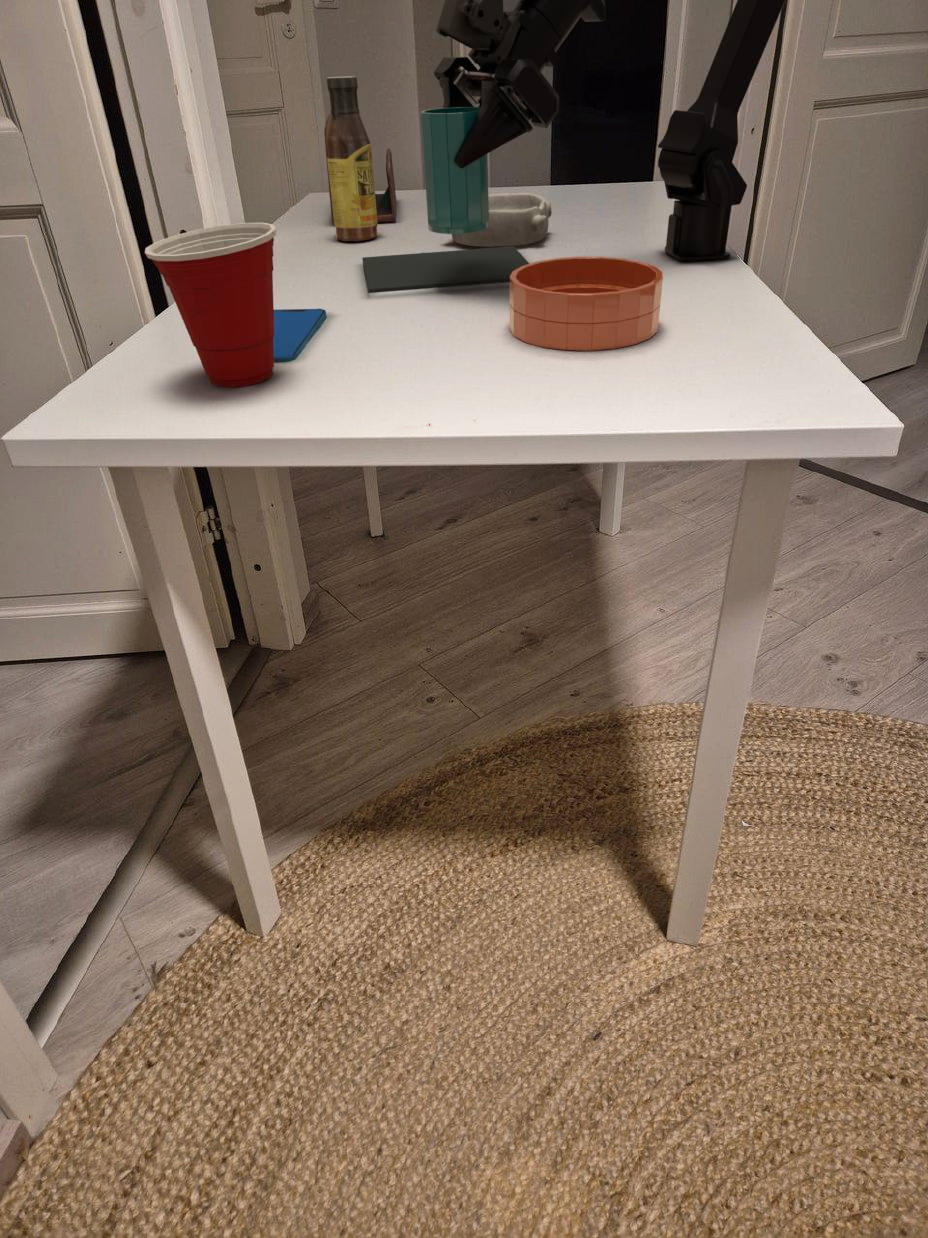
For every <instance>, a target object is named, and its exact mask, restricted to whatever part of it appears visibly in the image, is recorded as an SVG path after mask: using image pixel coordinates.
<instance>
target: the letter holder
mask: <svg viewBox="0 0 928 1238" xmlns="http://www.w3.org/2000/svg"><path fill="white" fill-rule="evenodd" d="M331 119H332V115H331V113H330V114H328V116H327V118H326V120H325V125H324V130H323V133H324V134H323V135H324V136H323V137H324V146H325V158H326V159H325V160H326V171H327V181H328V193H329V194H328V195H329V203H330V213H331V215H330V216H331V223H332V226H333V227H335V225H334V217H333V208H332V199H331V190H330V180H329V171H328V162H327V157H328V154H327V146H326V133H327V129H328V127H329V125H330V122H331ZM385 154H386V155H385V161H386V162H385V173H386V179H387V188H386V189H385V191H384V193H375V200H376V212H377V224H380V223H381V224H382V223H395V222H396V217H397V216H396V211H397V195H396V194H397V193H396V184H395V175H394V165H393V154H392V150H391V148H390V147H389V148H387V149H386V153H385Z"/></svg>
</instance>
